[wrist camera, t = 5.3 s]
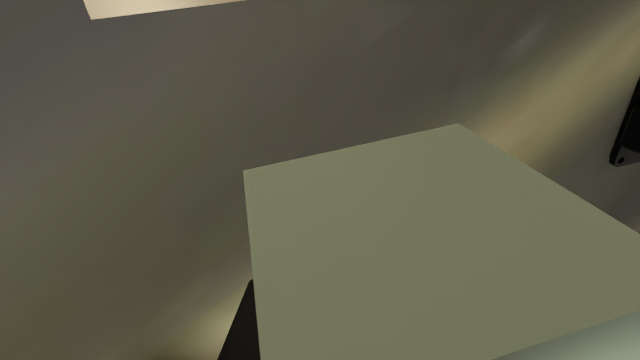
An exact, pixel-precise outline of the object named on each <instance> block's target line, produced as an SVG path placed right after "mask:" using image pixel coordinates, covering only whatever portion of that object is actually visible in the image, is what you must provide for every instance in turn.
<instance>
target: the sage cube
mask: <svg viewBox="0 0 640 360" xmlns="http://www.w3.org/2000/svg"><path fill="white" fill-rule="evenodd" d="M243 175H244V186H245V197H246V207H247V218H248V229H249V240H250V250H251V261H252V272H253V282H254V293H255V304H256V315H257V325H258V336H259V347H260V357H261V360H640V234H639V233H637V232H635V231H634V230H632V229H630V228H629V227H627V226H626V225H624V224H622V223H621V222H619V221H617V220H616V219H614V218H612V217H611V216H609V215H608V214H606V213H604V212H603V211H601V210H599V209H598V208H596V207H594V206H593V205H591V204H590V203H588V202H586V201H585V200H583V199H581V198H580V197H578V196H576V195H575V194H573V193H572V192H570V191H568V190H567V189H565V188H563V187H562V186H560V185H558V184H557V183H555V182H554V181H552V180H550V179H549V178H547V177H545V176H544V175H542V174H540V173H539V172H537V171H536V170H534V169H532V168H531V167H529V166H527V165H526V164H524V163H522V162H521V161H519V160H518V159H516V158H514V157H513V156H511V155H509V154H508V153H506V152H504V151H503V150H501V149H500V148H498V147H496V146H495V145H493V144H491V143H490V142H488V141H486V140H485V139H483V138H482V137H480V136H478V135H477V134H475V133H473V132H472V131H470V130H468V129H467V128H465V127H464V126H462V125H460V124H454V125H449V126H445V127H440V128H436V129H431V130H427V131H422V132H417V133H413V134H408V135H404V136H399V137H395V138H390V139H385V140H381V141H376V142H372V143H367V144H363V145H358V146H354V147H349V148H344V149H340V150H335V151H331V152H326V153H322V154H317V155H312V156H308V157H303V158H299V159H294V160H290V161H285V162H280V163H276V164H271V165H267V166H262V167H258V168H253V169H248V170H244V171H243Z"/></svg>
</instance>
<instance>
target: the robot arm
mask: <svg viewBox="0 0 640 360" xmlns="http://www.w3.org/2000/svg"><path fill="white" fill-rule="evenodd" d="M637 162H640V81H639V84H638V87H637V89H636V92H635V95H634V97H633V100H632V102H631V105H630V108H629V110H628V113H627V115H626V118H625V121H624V123H623V126H622V128H621V131H620V134H619V136H618V139H617V141H616V144H615V147H614V149H613V152H612V155H611V157H610V160H609V163H610V164H612V165H614V166H616V167H620V166H624V165H628V164H632V163H637ZM217 360H261V357H260V347H259V336H258V325H257V315H256V304H255V293H254V282H253V279H252V280H250V281H249V283H248V286H247V288H246V291H245V293H244V295H243V298H242V300H241V303H240V305H239V308H238V310H237V313H236V315H235V318H234V320H233V323H232V325H231V327H230V330H229V332H228V335H227V337H226V340H225V342H224V345H223V347H222V350H221V352H220V355H219V357H218V359H217Z"/></svg>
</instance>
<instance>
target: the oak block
mask: <svg viewBox="0 0 640 360" xmlns="http://www.w3.org/2000/svg"><path fill="white" fill-rule="evenodd" d="M83 1H84V3H85V6H86V8H87V11H88V13H89V16H90V18H91V20H92V19H100V18H108V17H116V16H124V15H132V14H140V13H148V12H156V11H164V10H172V9H180V8H188V7H196V6H204V5H212V4H219V3H227V2H235V1H243V0H83Z"/></svg>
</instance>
